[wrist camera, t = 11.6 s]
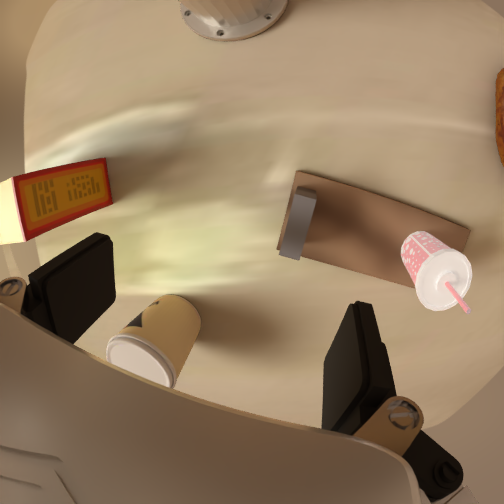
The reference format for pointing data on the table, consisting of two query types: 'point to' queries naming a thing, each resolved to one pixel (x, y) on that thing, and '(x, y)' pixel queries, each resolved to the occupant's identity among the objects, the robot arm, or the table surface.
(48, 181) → the baking soda box
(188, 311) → the coffee cup
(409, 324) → the table surface
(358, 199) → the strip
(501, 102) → the croissant
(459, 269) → the beverage cup
